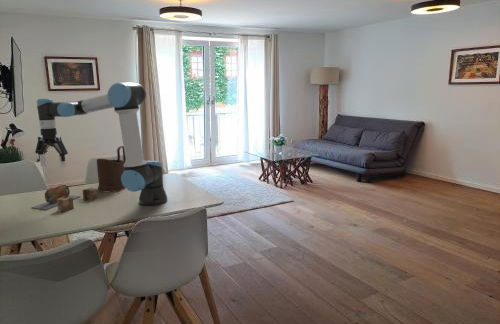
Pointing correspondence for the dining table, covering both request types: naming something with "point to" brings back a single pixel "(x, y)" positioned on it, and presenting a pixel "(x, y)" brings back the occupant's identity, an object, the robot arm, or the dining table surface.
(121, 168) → the brown tapered container
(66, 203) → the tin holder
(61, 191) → the tin
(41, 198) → the dining table surface
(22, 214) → the dining table surface
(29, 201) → the dining table surface
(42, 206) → the mat
